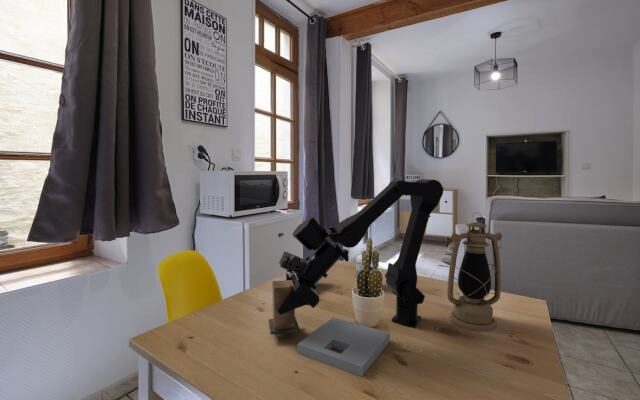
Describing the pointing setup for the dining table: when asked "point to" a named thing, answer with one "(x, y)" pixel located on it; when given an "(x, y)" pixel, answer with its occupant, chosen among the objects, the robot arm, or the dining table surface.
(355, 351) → the slate board
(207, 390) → the dining table surface
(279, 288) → the walnut peg
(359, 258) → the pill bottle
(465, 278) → the lantern
